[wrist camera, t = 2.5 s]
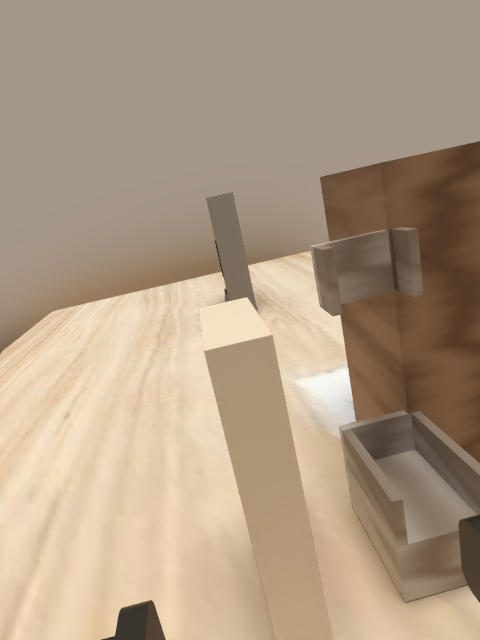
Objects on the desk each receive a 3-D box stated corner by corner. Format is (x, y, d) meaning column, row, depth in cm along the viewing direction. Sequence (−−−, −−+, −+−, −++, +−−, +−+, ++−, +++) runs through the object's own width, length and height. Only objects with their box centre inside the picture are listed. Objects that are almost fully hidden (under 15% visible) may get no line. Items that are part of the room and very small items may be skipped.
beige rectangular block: (296, 533, 31) (247, 297, 26) (333, 642, 23) (272, 334, 18) (256, 544, 31) (198, 308, 26) (280, 657, 23) (203, 351, 18)
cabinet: (448, 396, 44) (428, 153, 37) (641, 535, 25) (670, 98, 19) (310, 431, 43) (266, 188, 37) (405, 602, 24) (348, 168, 18)
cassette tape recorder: (228, 305, 102) (205, 199, 95) (253, 300, 102) (231, 193, 95) (229, 321, 88) (202, 198, 82) (258, 314, 88) (233, 192, 81)
